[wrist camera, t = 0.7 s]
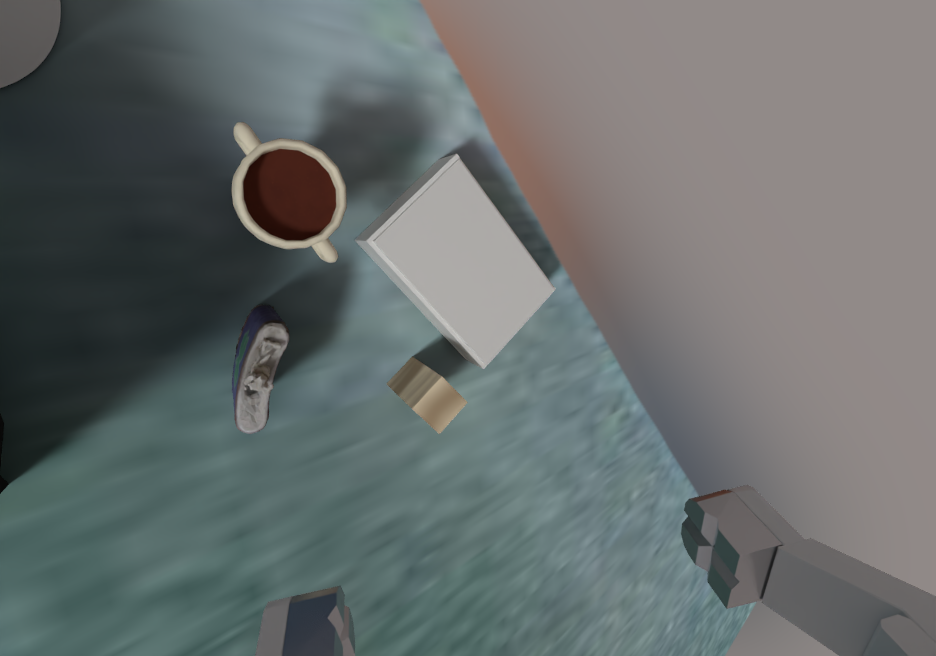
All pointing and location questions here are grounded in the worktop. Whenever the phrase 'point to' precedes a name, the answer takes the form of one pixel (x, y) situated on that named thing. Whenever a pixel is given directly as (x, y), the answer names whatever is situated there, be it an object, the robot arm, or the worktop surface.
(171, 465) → the worktop surface
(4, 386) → the worktop surface
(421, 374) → the maple block
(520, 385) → the worktop surface
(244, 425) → the flask
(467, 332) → the grey box
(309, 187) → the character mug
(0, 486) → the protein powder
